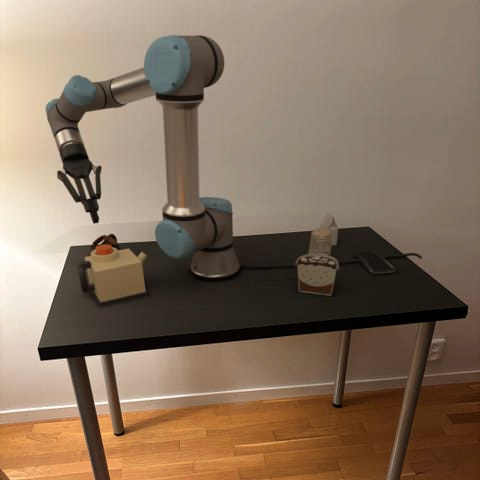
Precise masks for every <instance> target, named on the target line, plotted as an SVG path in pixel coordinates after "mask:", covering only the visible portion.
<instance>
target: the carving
mask: <svg viewBox="0 0 480 480" xmlns="http://www.w3.org/2000/svg"><path fill="white" fill-rule="evenodd" d="M331 243H332V235H331V232H330V231H329V230H326V229H321V228H316V229H314V230H313V231H311V233H310V240H309V247H308V253H307V254H325V255H329V256H331V254H332V245H331Z"/></svg>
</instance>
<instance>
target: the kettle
mask: <svg viewBox="0 0 480 480" xmlns="http://www.w3.org/2000/svg"><path fill="white" fill-rule="evenodd" d="M137 257H138V256H137V255H136V254H135V253H134V252H133V251H132V250H131V249H130V248H124V249H121V250H119V251H118V250H117V248H113V247H112V253H111V254H108V255H97V253H96V249H95V250H93V251H92V250H91V251H90V255H88V256H84V261H90V262H91V268H89V269H86V271H87V272H86V273H87V278H88V281H89V282H88V283H89V284H92V283H93V284H94V286H95V291H94V293H95V294H96V296H97V297H98V299H99V300H100V302H104V301H108V300H113V299H117V298H121V297H125V296H129V295H134V294H138V293H142V292H146V291H147V290H146V291H145V289H146V285H145V284H146V283H145V277H144V269H143V264H142V262H141V261H140V260H139V259H138V258H137Z"/></svg>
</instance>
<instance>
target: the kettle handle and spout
mask: <svg viewBox="0 0 480 480" xmlns="http://www.w3.org/2000/svg"><path fill="white" fill-rule="evenodd" d="M136 257H137V258H138V259H139V260H140V261H141V262H142V265H143V264H144V263H145V261H146V260H147V258H148V257H149V256H148V255H147V254H146V253H145V252H143V251H141V252H140V253H139V254H138V256H136ZM76 268H77V269H76V270H77V273H78V278H79V283H80V289H81V292H82V293H83V294H88V293H90V294H91V295H92V296H93V298H94V299H95V302H97V304H98V306H99V307H104V306H108V305H112V304H117V303H121V302H124V301H128V300H132V299H137V298H142V297H145V296H148V295H149V291H148V290H147V289H146V288H145V291H146V292H142V293H138V294H134V295H129V296H125V297H121V298H117V299H113V300H108V301H104V302H100V300H99V299H98V297H97V296H96V294H95V293H94V291H95V286H94V284H93V283H92V284H90V283H89V282H88V281H89V280H88V275H87V272H86V271H87V269H89V268H91V262H90V261H85V260H84V261H79V263H78V264H77V265H76Z"/></svg>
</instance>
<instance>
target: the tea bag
mask: <svg viewBox="0 0 480 480" xmlns="http://www.w3.org/2000/svg"><path fill="white" fill-rule="evenodd" d="M320 229H326V230H329V231H330V232H331V235H332V243H331V246H338V245H337V244H338V233H339V228H338V226H337V223H336V218H335V216H333V215H332V214H330V212H328V211H326V213H325V215H324V217H323V219H322V221H321V223H320Z"/></svg>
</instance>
